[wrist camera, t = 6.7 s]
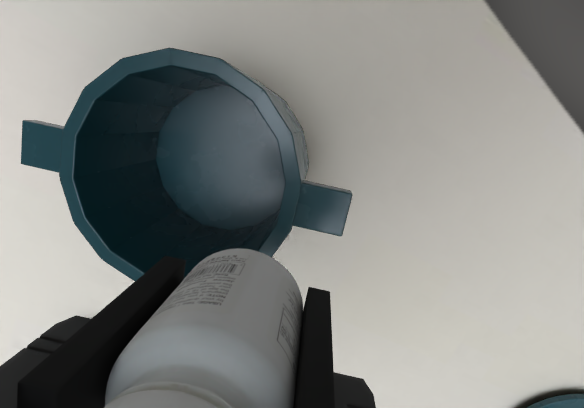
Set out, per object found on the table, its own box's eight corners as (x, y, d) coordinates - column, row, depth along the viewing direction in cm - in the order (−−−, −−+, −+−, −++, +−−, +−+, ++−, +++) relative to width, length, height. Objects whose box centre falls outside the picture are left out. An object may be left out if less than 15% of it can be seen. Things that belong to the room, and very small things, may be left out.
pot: (126, 53, 28) (15, 14, 18) (359, 103, 27) (380, 92, 17) (110, 210, 31) (7, 254, 21) (321, 258, 30) (320, 328, 20)
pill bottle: (164, 317, 14) (-24, 549, 6) (221, 222, 13) (78, 364, 5) (264, 376, 14) (196, 669, 7) (327, 288, 13) (333, 513, 6)
